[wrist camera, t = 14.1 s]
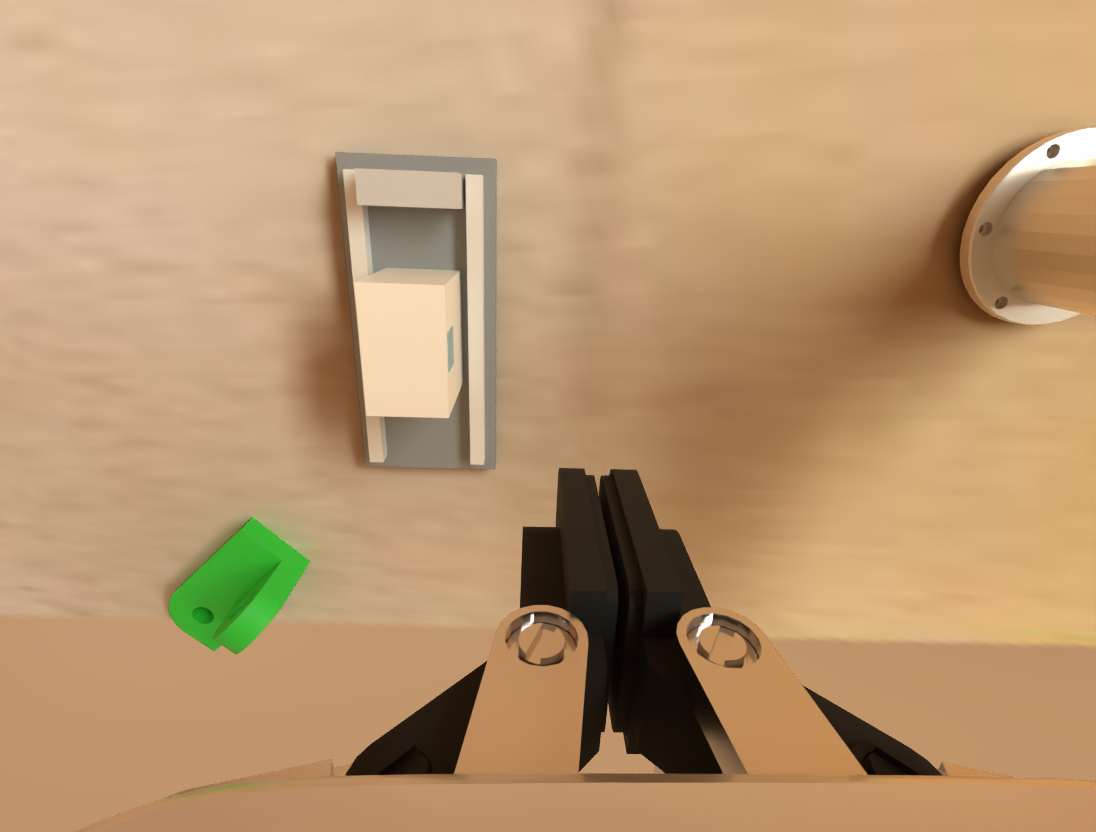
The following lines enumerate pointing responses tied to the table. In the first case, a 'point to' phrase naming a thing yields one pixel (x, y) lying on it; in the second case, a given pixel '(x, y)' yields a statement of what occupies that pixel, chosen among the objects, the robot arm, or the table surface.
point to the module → (410, 341)
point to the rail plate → (441, 244)
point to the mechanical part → (238, 589)
